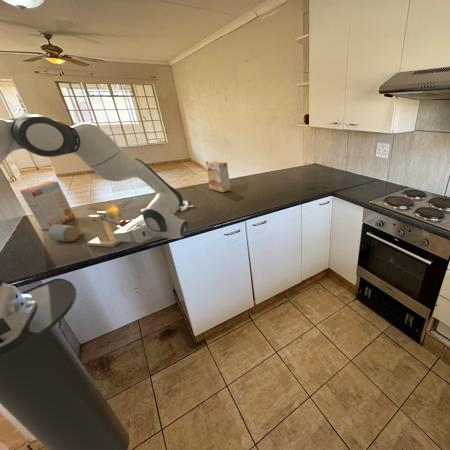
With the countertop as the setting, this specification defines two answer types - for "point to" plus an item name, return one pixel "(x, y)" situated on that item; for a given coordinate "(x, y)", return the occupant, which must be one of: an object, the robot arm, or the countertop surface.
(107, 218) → the lever
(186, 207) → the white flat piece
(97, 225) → the bracket
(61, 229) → the ceramic mug
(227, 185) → the coffeecake box
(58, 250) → the countertop surface
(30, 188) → the cracker box
